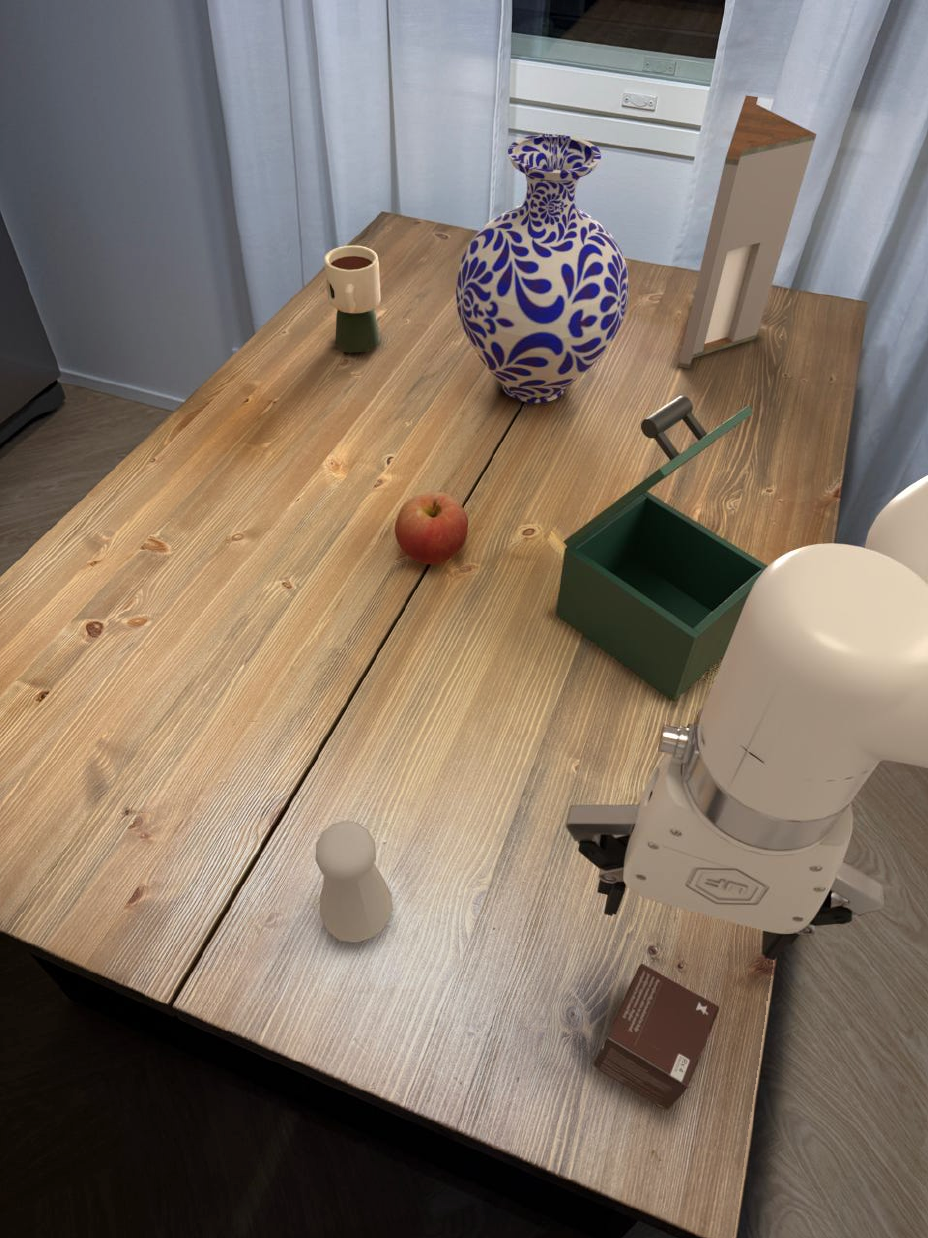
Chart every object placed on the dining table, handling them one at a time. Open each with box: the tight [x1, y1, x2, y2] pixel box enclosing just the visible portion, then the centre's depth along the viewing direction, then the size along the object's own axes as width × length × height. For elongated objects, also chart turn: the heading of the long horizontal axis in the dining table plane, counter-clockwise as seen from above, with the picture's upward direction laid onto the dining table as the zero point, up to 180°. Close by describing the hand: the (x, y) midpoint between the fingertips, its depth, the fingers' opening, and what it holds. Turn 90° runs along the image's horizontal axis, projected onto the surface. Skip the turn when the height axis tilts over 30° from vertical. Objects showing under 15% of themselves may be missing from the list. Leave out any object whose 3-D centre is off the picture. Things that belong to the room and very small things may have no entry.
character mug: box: [323, 245, 381, 353], centre depth 122 cm, size 11×7×13 cm, turn 179°
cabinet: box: [677, 95, 817, 369], centre depth 120 cm, size 21×10×28 cm, turn 162°
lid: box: [562, 395, 754, 548], centre depth 82 cm, size 17×13×5 cm
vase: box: [455, 133, 630, 404], centre depth 110 cm, size 22×22×30 cm
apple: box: [394, 491, 469, 565], centre depth 97 cm, size 8×8×8 cm
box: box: [593, 963, 720, 1111], centre depth 63 cm, size 6×6×7 cm
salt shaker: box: [315, 820, 393, 944], centre depth 67 cm, size 6×6×13 cm
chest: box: [555, 491, 769, 702], centre depth 90 cm, size 16×13×10 cm
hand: (689, 914), depth 55 cm, fingers open, 9 cm apart
